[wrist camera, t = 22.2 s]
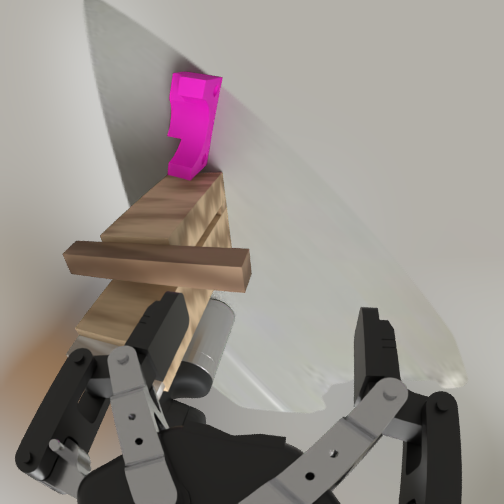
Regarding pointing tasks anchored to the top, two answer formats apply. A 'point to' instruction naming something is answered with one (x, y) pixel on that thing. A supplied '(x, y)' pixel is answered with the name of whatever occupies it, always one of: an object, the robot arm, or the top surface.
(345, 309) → the top surface
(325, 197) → the top surface
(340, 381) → the top surface
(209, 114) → the toy block
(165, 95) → the top surface
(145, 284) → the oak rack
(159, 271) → the walnut bar
